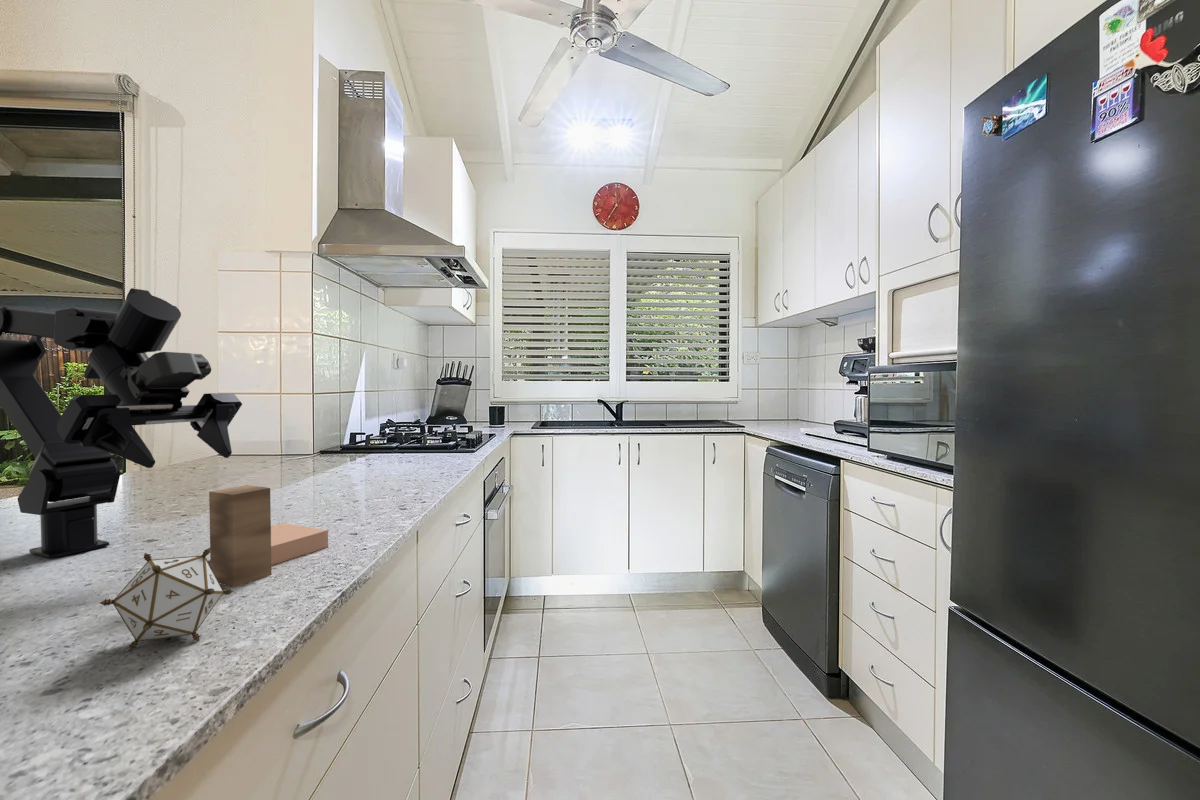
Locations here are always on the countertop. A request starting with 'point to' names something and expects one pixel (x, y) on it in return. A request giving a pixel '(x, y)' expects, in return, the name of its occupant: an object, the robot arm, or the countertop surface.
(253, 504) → the walnut block
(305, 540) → the terracotta tile
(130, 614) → the game die
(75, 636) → the countertop surface
